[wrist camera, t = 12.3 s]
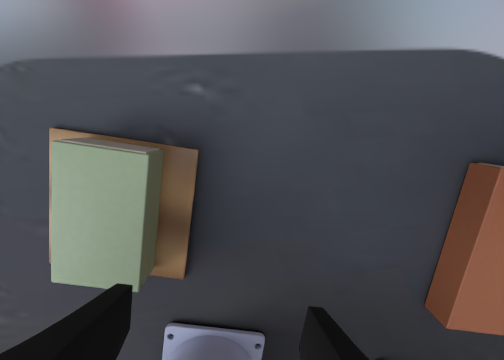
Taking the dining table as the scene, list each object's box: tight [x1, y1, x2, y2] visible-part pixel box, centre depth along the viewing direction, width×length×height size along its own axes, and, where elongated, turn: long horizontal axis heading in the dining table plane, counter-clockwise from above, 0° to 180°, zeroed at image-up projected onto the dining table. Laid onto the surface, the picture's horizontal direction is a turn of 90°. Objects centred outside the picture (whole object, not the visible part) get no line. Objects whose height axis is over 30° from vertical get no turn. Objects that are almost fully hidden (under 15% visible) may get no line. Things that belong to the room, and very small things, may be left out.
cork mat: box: [49, 128, 199, 279], centre depth 19 cm, size 10×10×1 cm
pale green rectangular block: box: [51, 137, 164, 292], centre depth 18 cm, size 9×6×3 cm, turn 171°
